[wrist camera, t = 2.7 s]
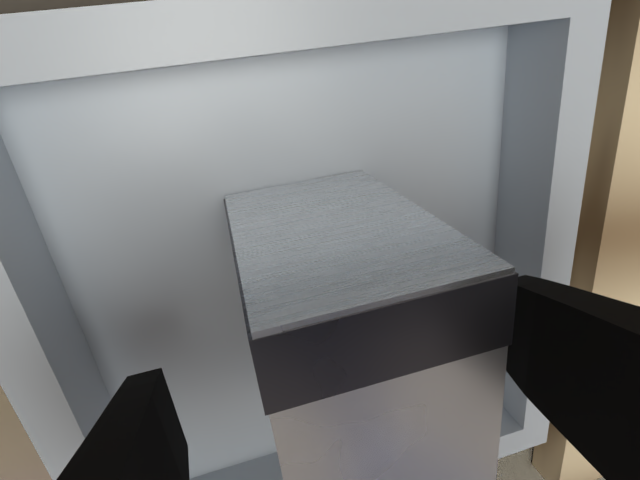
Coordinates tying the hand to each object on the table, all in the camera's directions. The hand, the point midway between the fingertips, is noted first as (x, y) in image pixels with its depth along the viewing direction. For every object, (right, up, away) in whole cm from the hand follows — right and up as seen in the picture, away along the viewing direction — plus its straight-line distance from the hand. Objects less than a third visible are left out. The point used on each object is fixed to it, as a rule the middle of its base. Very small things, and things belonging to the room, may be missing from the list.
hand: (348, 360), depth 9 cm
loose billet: (-1, +1, +3) cm, 4 cm away
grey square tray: (-1, +1, +4) cm, 4 cm away
